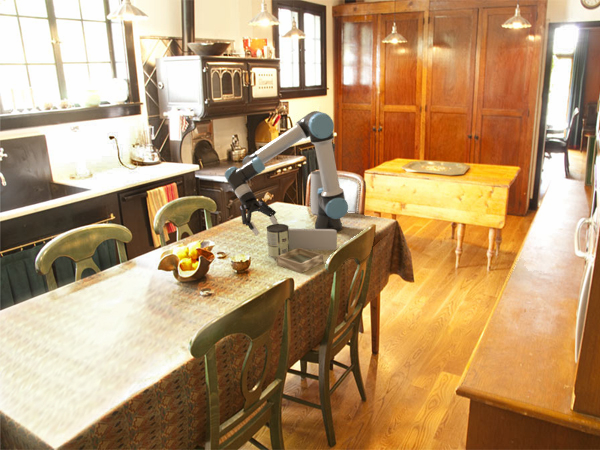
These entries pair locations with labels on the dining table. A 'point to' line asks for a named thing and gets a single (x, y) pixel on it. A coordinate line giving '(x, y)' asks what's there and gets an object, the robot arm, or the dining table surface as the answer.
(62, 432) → the dining table surface
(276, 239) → the coffee can
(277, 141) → the robot arm
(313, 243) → the decorative sign
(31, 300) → the dining table surface
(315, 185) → the cylinder vase
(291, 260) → the square tray
